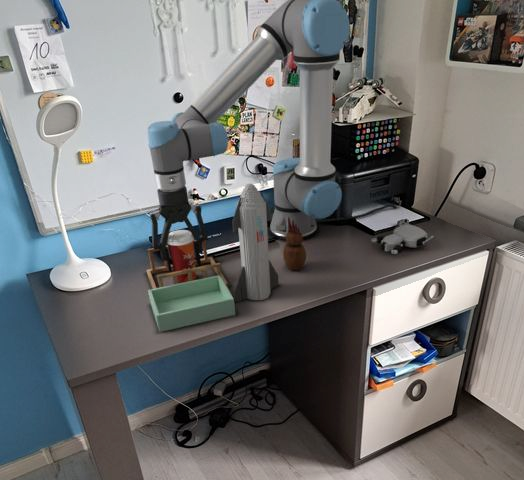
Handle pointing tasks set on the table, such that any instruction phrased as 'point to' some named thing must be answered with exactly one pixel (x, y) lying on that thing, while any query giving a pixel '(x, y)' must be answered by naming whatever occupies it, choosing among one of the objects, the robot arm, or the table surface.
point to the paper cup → (182, 253)
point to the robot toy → (402, 238)
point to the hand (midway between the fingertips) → (184, 266)
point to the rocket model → (253, 246)
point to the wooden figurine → (294, 248)
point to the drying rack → (189, 271)
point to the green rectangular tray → (191, 303)
